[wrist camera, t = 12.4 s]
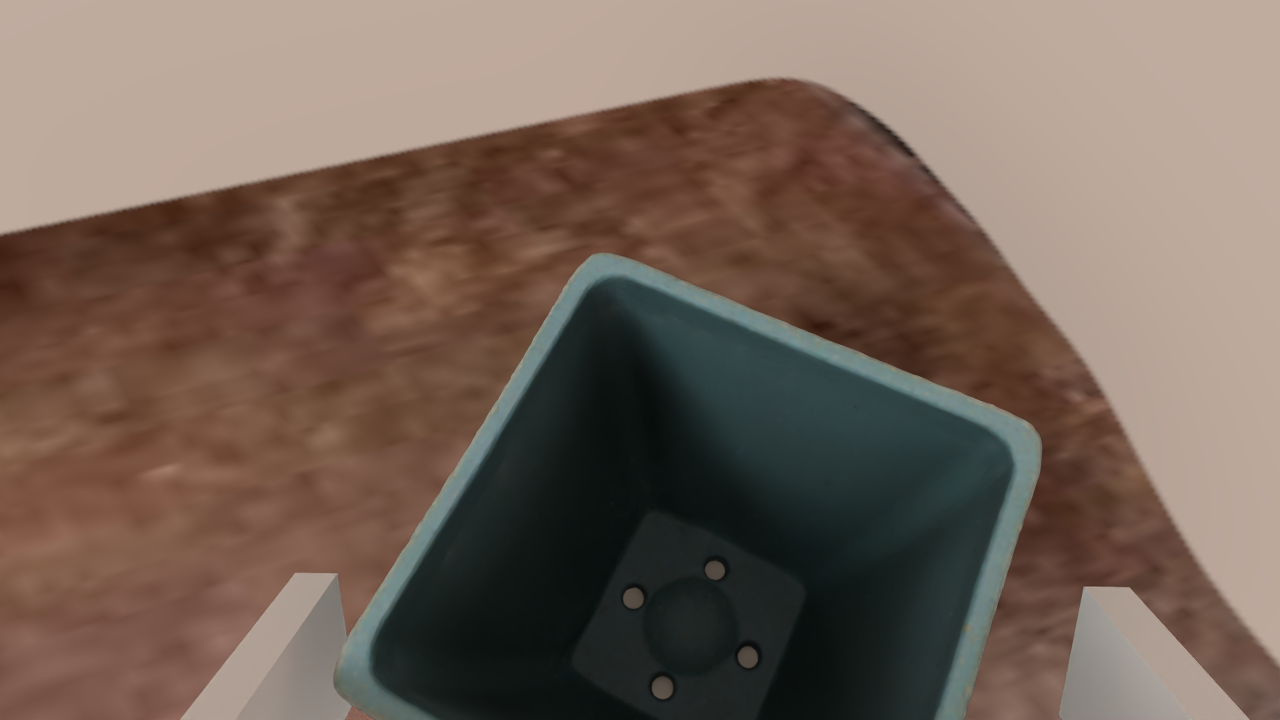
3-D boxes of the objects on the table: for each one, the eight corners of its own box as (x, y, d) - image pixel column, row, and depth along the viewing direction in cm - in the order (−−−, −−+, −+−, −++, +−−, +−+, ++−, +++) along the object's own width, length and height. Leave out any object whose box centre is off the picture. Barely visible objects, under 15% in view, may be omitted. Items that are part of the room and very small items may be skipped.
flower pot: (913, 548, 21) (1059, 424, 13) (789, 901, 18) (883, 1023, 10) (619, 415, 23) (590, 239, 15) (459, 712, 20) (314, 686, 12)
